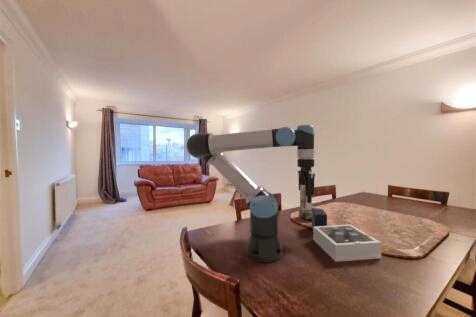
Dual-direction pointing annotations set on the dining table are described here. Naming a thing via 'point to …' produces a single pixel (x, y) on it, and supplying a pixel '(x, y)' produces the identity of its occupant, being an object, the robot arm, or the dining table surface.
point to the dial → (344, 235)
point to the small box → (319, 218)
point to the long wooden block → (303, 211)
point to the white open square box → (347, 244)
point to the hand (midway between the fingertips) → (306, 207)
